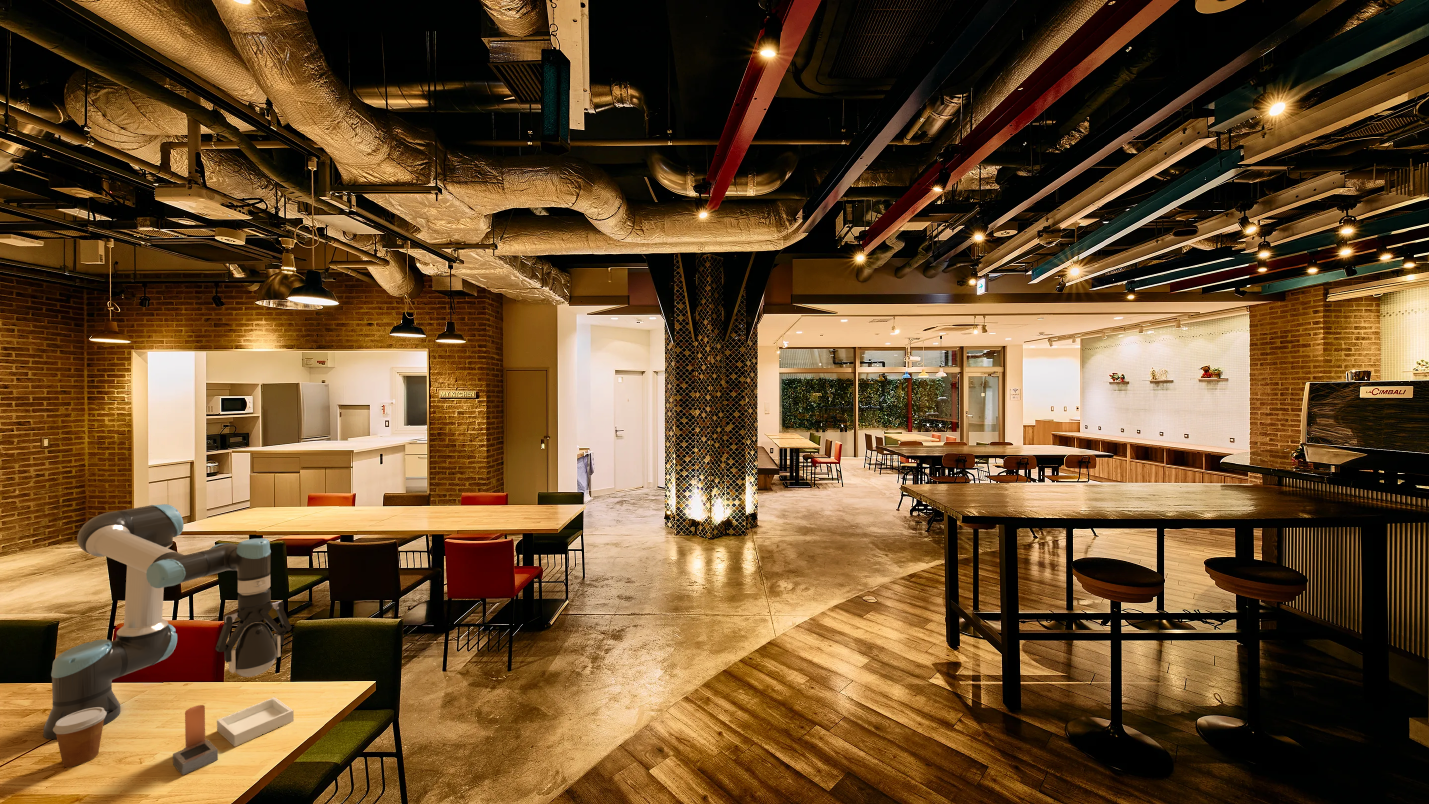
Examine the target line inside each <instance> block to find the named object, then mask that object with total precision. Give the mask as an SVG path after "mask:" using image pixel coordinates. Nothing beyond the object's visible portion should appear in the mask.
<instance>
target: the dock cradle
mask: <svg viewBox="0 0 1429 804" xmlns="http://www.w3.org/2000/svg"><path fill="white" fill-rule="evenodd" d="M294 718H295V717H294V709H292V708H291V707H290V706H288V705H287V704H285V703H284V702H283V701H281V700H280V699H278V698H277V697H275V696H273V697H270V698H268V699H265V700H263V701H261V702H258V703H256V704H253V705H250V706H247V707H246V708H244V709H243V708H242V709H241V710H239V711H236V712H233V713H231V714H229V715H226V716H223V717H221V718H218V719H217V720H216V731H217V732H218V733H219V734H220V735H221V736H222V737H223V738H225V739H226V740H227V742H229V743H230V744H231V745H232V747H235V748H236V747H237V746H240V745H242V744H244V743H246V742H249V741H252V740H253V739H257V738H258V737H260V736H262V734H263V735H264V734H267V733H270V732H271V731H274V730H276V729H278V727H279V728H280V727H283V726H285V725H288V724H290V723H292V722H294Z"/></svg>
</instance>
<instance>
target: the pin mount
mask: <svg viewBox="0 0 1429 804" xmlns="http://www.w3.org/2000/svg"><path fill="white" fill-rule="evenodd" d="M218 754H219V749H218V748H217V747H216V746H215V745H214V744H213V743H212V742H211V740H209V739H208V738H206V739H205V741H202V742H200V743H198V744H195V745H193V746H190V747H188V748H186V749H184V748H182V749H181V750H178V751H175V752H174V753H172V765H173V767H175V769H176V771H177V770H178V772H179V773H180V774H181V775H182V776H185V775H187V774H189V773H192V772H194V771H196V770H198V769H201V768H203V767H205V766H208V765H209V764H212V763H214V762H216V761H218V760H219V755H218Z"/></svg>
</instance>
